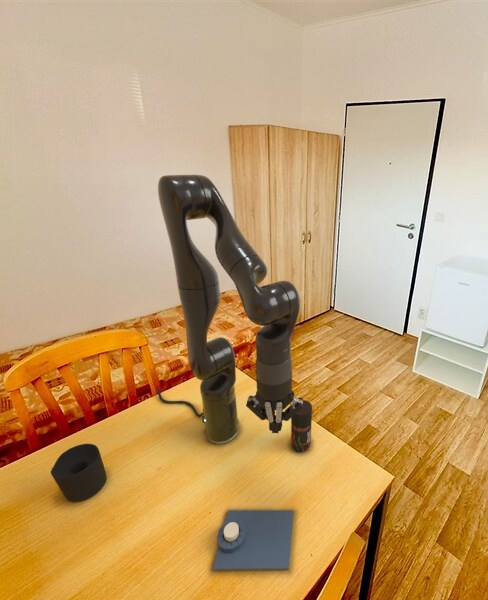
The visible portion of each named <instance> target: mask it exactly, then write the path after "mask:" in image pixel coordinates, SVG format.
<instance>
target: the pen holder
mask: <svg viewBox="0 0 488 600" xmlns="http://www.w3.org/2000/svg"><path fill="white" fill-rule="evenodd" d="M50 475H51V476H52V478H53V480H54V481H55V483H56V485H57V486H58V488H59V490H60V491H61V493H62V495H63V496H64V498H65V499H66V500H67V501H69V502H72V503H79V502H84V501H86V500H89V499H90V498H92V497H94V496H95V495H97V493H99V492H100V491H101V489H102V488H103V487H104V485H105V484H106V483H107V478H108V477H107V472H106V469H105V465H104V462H103V459H102V456H101V452H100V449H99V447H98V446H97V445H96V444H94V443H81V444H77V445H74V446H73V447H70V448H68V449H66V450H65V451H63V452H62V453H61V454H60V455H59V456H58V458H57V459H56V461H55V463H54V465H53V466H52V468H51V470H50Z"/></svg>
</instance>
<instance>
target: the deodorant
mask: <svg viewBox="0 0 488 600" xmlns="http://www.w3.org/2000/svg"><path fill="white" fill-rule="evenodd" d="M312 418H313V405H312V404H311V402H310V401H308V400H304V399H303V405H302V409H301V410H299V411H298V412H297V413H296V414H295V415H294V416H293V417H292V418H290V446H291V449H292V450H293V451H294V452H295V453H296V452H297V453H305V452H308V450H309V449H310V447H311V445H312V444H311V442H312V424H313V423H312V422H313V419H312Z"/></svg>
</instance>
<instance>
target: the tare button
mask: <svg viewBox="0 0 488 600" xmlns="http://www.w3.org/2000/svg"><path fill="white" fill-rule="evenodd" d="M238 535H239V527H238V524H237V523H235V522H231V523H229V524H227V525H226V526H225V528H224V538H225V540H226V541H228V542H232V541H234V540H236V539H237V537H238Z"/></svg>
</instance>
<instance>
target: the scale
mask: <svg viewBox="0 0 488 600" xmlns="http://www.w3.org/2000/svg"><path fill="white" fill-rule="evenodd" d="M231 522H235V523H237V524H238V527H239V535H238V537H237V539H236V540H234V541H232V542H228V541H226V540H225V538H224V528H225V526H226V525H227V524H229V523H231ZM293 523H294V510H292V509H288V510H287V509H286V510H285V509H284V510H283V509H281V510H279V509H278V510H277V509H275V510H273V509H247V510H246V509H228V510H227V513H226V517H225V521H224V523H223V524H222V525H221V526H220V528H219V529H218V530H217V531H218V532H217V536H216V540H217V545H218V548H217V551H216V556H215V559H214V563H213V568H212V572H228V571H229V572H233V571H235V572H236V571H237V572H239V571H241V572H242V571H243V572H244V571H289V570H290V563H291V562H290V561H291V552H292V551H291V550H292V547H291V546H292V538H293Z"/></svg>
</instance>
